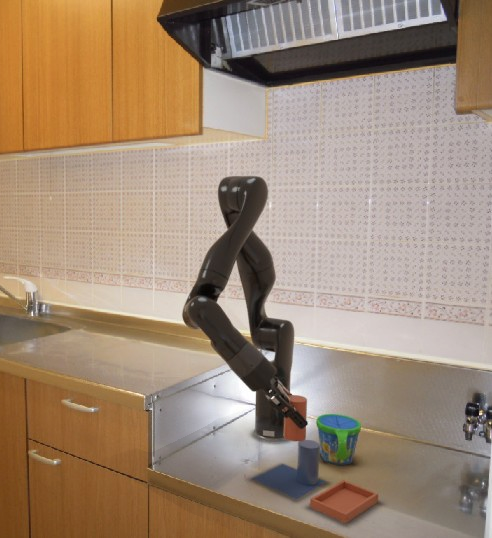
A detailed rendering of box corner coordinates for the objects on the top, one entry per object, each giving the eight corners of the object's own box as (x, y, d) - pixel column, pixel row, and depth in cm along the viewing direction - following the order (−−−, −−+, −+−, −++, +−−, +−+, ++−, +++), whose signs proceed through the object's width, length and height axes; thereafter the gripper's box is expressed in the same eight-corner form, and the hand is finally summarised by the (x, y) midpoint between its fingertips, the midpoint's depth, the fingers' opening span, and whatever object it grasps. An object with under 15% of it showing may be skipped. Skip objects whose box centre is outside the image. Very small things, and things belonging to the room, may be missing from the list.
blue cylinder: (304, 474, 136) (305, 438, 135) (322, 481, 132) (323, 444, 131) (292, 480, 133) (293, 443, 132) (310, 488, 129) (312, 450, 128)
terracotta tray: (342, 488, 130) (343, 479, 130) (377, 502, 124) (378, 493, 123) (309, 508, 121) (310, 498, 121) (345, 524, 115) (346, 514, 115)
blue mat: (282, 465, 141) (282, 464, 141) (326, 483, 132) (326, 481, 132) (251, 479, 134) (252, 478, 134) (295, 500, 125) (295, 498, 125)
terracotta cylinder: (291, 431, 132) (293, 393, 131) (309, 437, 128) (311, 398, 127) (279, 436, 129) (280, 397, 128) (297, 443, 125) (298, 403, 124)
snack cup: (361, 476, 135) (363, 435, 134) (314, 470, 139) (316, 430, 138) (357, 450, 150) (358, 412, 149) (315, 445, 153) (316, 408, 152)
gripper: (262, 363, 121) (320, 423, 120) (262, 347, 135) (314, 400, 134) (236, 385, 123) (293, 445, 121) (239, 367, 137) (290, 420, 135)
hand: (303, 421), depth 127 cm, fingers closed on terracotta cylinder, 4 cm apart
